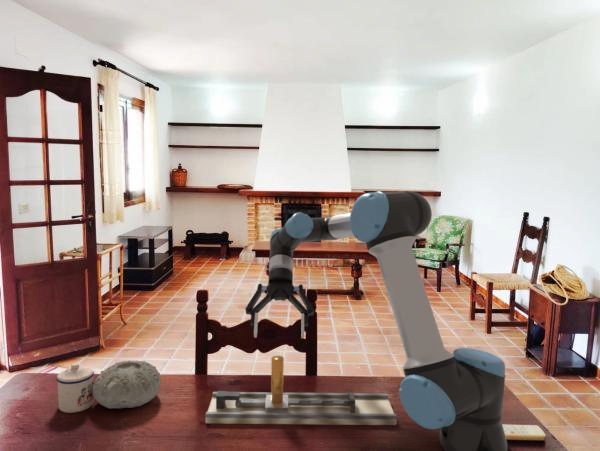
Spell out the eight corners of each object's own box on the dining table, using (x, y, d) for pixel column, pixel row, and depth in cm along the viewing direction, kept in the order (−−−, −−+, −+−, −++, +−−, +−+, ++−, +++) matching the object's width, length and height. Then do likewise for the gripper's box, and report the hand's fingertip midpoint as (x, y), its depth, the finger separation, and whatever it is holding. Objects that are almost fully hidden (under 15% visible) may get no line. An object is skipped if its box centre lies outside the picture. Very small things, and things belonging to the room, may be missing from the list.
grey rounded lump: (150, 418, 122) (149, 382, 121) (81, 417, 122) (79, 380, 120) (168, 386, 140) (168, 354, 138) (108, 385, 139) (107, 353, 138)
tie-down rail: (386, 401, 133) (387, 385, 132) (396, 425, 121) (397, 406, 121) (213, 400, 132) (213, 383, 131) (205, 423, 120) (205, 404, 119)
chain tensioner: (353, 399, 130) (354, 353, 128) (356, 412, 123) (358, 364, 122) (237, 398, 129) (237, 352, 128) (234, 411, 122) (234, 363, 121)
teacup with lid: (82, 415, 123) (81, 372, 121) (50, 412, 124) (48, 370, 122) (106, 393, 134) (105, 354, 133) (77, 391, 136) (75, 352, 134)
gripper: (319, 279, 151) (321, 341, 138) (241, 278, 150) (236, 340, 137) (321, 266, 145) (323, 330, 132) (240, 265, 144) (234, 329, 132)
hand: (279, 336), depth 135 cm, fingers open, 13 cm apart
